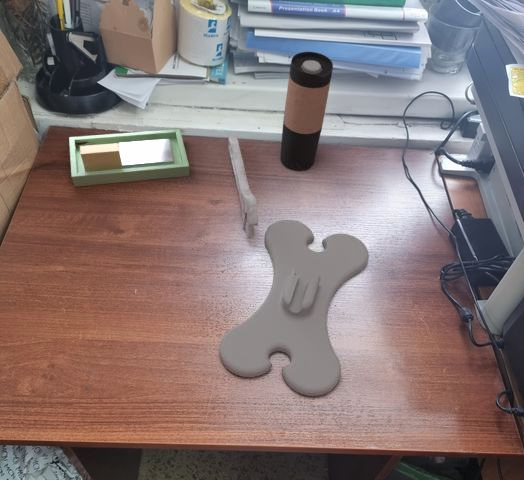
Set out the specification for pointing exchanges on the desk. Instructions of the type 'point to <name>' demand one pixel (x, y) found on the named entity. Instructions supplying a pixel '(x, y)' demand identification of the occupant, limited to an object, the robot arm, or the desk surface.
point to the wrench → (243, 189)
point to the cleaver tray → (120, 175)
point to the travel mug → (305, 109)
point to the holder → (296, 309)
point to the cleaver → (126, 155)
